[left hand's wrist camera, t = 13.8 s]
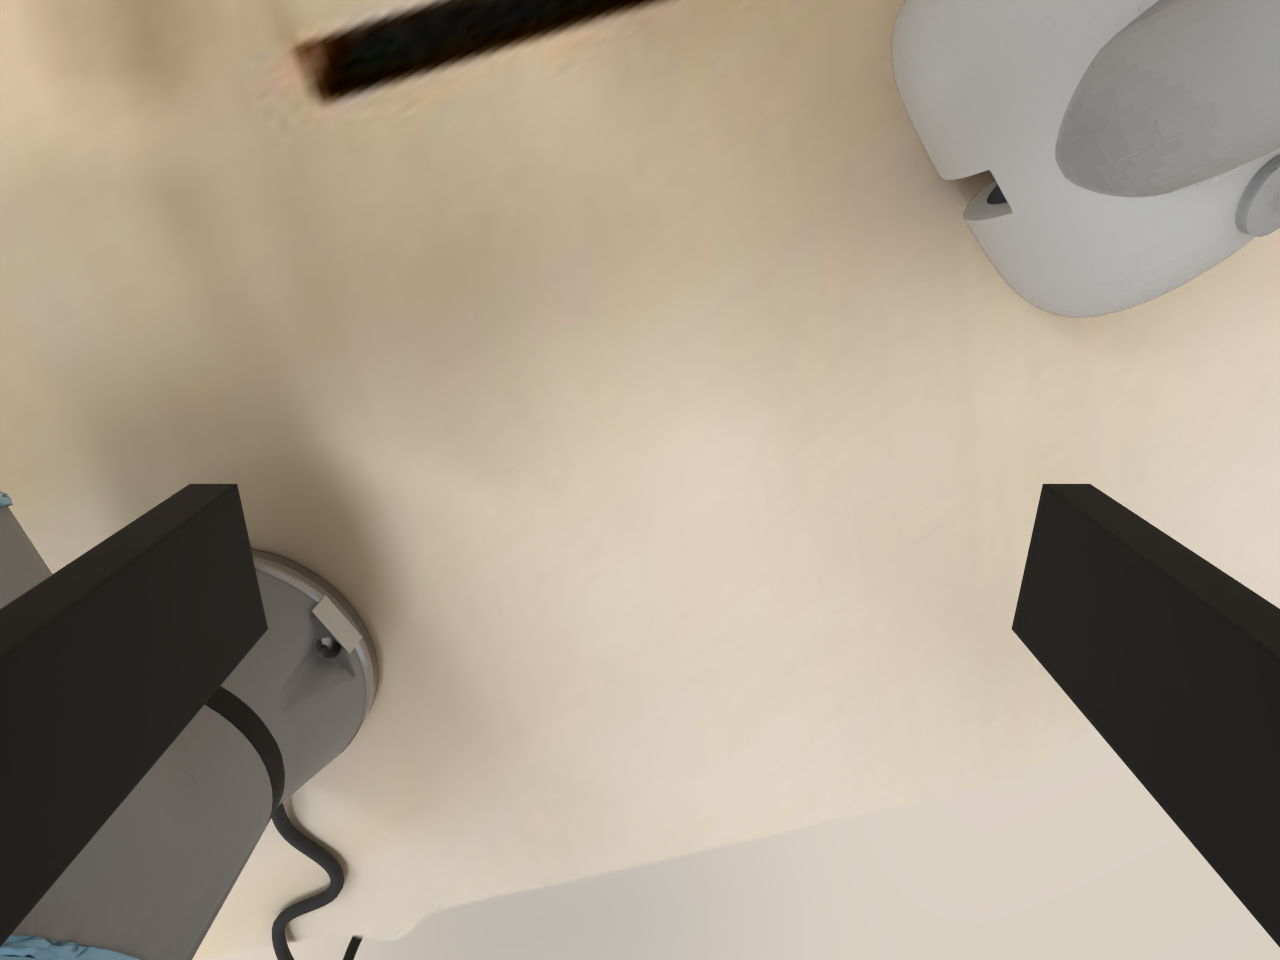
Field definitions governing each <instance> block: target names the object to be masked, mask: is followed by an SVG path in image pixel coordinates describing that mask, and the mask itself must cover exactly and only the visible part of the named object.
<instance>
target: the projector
mask: <svg viewBox="0 0 1280 960" xmlns="http://www.w3.org/2000/svg"><path fill="white" fill-rule="evenodd" d="M892 65H893V72H894V77H895V81H896V84H897V87H898V91H899V93H900V96H901V99H902V101H903V104H904V107H905V109H906V112H907V114H908V116H909V118H910V120H911V122H912V124H913V127H914V129H915V131H916V133H917V135H918V137H919V139H920V141H921V143H922V145H923V147H924V148H925V150H926V152H927V154H928V156H929V158H930V160H931V161H932V163H933V165H934V167H935V169H936V170H937V172H938V174H939V176H940V177H941V178H942V179H945V180H956V179H961V178H966V177H969V176H972V175H976V174H979V173H981V172H984V171H987V170H990V171H991V173H992V175H993V176H994V178H995V180H994V181H993V182H991V183H990V184H989V185H988V186H986V187H985V188H984V189H983V190H982V191H980V192H979V193H978V194H977V195H976V196H975V197H974V198H973V199H972V201H971V202H970V203H969V204H968V206H967V207H966V209H965V211H964V213H963V218H964V219H965V221H966V223H967V224H968V226H969V228H970V230H971V231H972V233H973V235H974V236H975V238H976V240H977V241H978V243H979V245H980V246H981V248H982V249H983V251H984V253H985V254H986V256H987V257H988V259H989V260H990V262H991V263H992V264H993V266H994V267H995V269H996V270H997V271H998V273H999V274H1000V275H1001V276H1002V278H1003V279H1004V280H1005V281H1006V282H1007V284H1008V285H1009V286H1010V287H1011V288H1012V289H1013V290H1014V291H1015V292H1016V293H1017V294H1018V295H1020V296H1021V297H1022V298H1023V299H1025V300H1026V301H1028V302H1029V303H1030V304H1032V305H1034V306H1036V307H1037V308H1039V309H1041V310H1043V311H1046V312H1049V313H1052V314H1055V315H1058V316H1064V317H1070V318H1084V317H1094V316H1101V315H1106V314H1110V313H1114V312H1118V311H1121V310H1125V309H1128V308H1131V307H1134V306H1136V305H1139V304H1142V303H1144V302H1147V301H1149V300H1152V299H1155V298H1157V297H1159V296H1161V295H1163V294H1165V293H1167V292H1169V291H1171V290H1173V289H1175V288H1177V287H1179V286H1181V285H1183V284H1185V283H1187V282H1189V281H1190V280H1192V279H1194V278H1196V277H1197V276H1199V275H1201V274H1202V273H1204V272H1206V271H1207V270H1209V269H1211V268H1212V267H1214V266H1216V265H1217V264H1219V263H1220V262H1222V261H1223V260H1225V259H1226V258H1227V257H1229V256H1230V255H1232V254H1233V253H1235V252H1236V251H1237V250H1239V249H1240V248H1242V247H1243V246H1244V245H1245V244H1247V243H1248V242H1249V241H1251V240H1252V239H1253V238H1254V237H1256V236H1260V237H1261V236H1264V235H1268V234H1270V233H1272V232H1274V231H1275V230H1277V229H1278V228H1280V0H905V2H904V3H903V5H902V7H901V9H900V11H899V14H898V16H897V19H896V22H895V26H894V29H893V36H892Z"/></svg>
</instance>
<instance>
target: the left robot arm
mask: <svg viewBox="0 0 1280 960" xmlns="http://www.w3.org/2000/svg"><path fill="white" fill-rule="evenodd" d="M11 505H13V503H12V501H11V498H10V497H9V496H8V494H6V493H3V492H0V960H192V959H193V957H194V955H195V953H196V951H197V950H198V948H199V946H200V944H201V943H202V941H203V939H204V937H205V935H206V934H207V932H208V930H209V928H210V926H211V925H212V923H213V921H214V919H215V918H216V916H217V914H218V912H219V910H220V909H221V907H222V905H223V903H224V902H225V900H226V898H227V896H228V894H229V893H230V891H231V889H232V887H233V885H234V884H235V882H236V880H237V878H238V877H239V875H240V873H241V871H242V869H243V868H244V866H245V864H246V862H247V861H248V859H249V857H250V855H251V853H252V852H253V850H254V848H255V846H256V845H257V843H258V841H259V839H260V837H261V836H262V834H263V832H264V830H265V828H266V826H267V824H268V823H269V821H270V819H271V818H272V820H273V822H274V825H275V827H276V828H277V830H278V831H279V833H280V834H281V835H282V836H283V838H284V839H285V840H286V841H287V842H288V843H290V844H291V845H292V846H293V847H295V848H296V849H297V850H299V851H300V852H302V853H303V854H305V855H306V856H308V857H309V858H311V859H312V860H314V861H315V862H316V863H318V864H319V865H320V866H321V867H323V868H324V869H325V870H326V872H327V873H328V874H329V877H330V879H331V883H330V887H329V888H328V889H327V890H325V891H324V892H322V893H320V894H318V895H316V896H314V897H311V898H309V899H306V900H304V901H301V902H298V903H296V904H294V905H292V906H290V907H288V908H286V909H285V910H284V911H282V912H281V913H280V914H279V916H278V917H277V918H276V920H275V921H274V923H273V927H272V941H273V947H274V950H275V954H276V956H277V959H278V960H294V958H293V957H292V955H291V953H290V950H289V948H288V945H287V942H286V938H285V927H286V924H287V923H288V922H289V921H291V920H292V919H294V918H296V917H298V916H300V915H303V914H305V913H308V912H310V911H313V910H315V909H318V908H320V907H323V906H325V905H327V904H328V903H330V902H332V901H333V900H334V899H335V898H336V897H337V896H338V894H339V893H340V891H341V890H342V888H343V883H344V877H343V871H342V868H341V866H340V864H339V863H338V862H337V860H336V859H335V858H334V857H333V856H332V855H331V854H329V853H328V852H327V851H326V850H324V849H323V848H321V847H320V846H319V845H317V844H316V843H314V842H313V841H311V840H310V839H308V838H307V837H305V836H304V835H303V834H302V833H300V832H299V831H298V830H297V829H296V828H295V827H294V826H293V824H292V823H291V822H290V820H289V818H288V817H287V815H286V812H285V809H284V806H283V803H282V802H283V801H284V800H286V799H287V798H288V797H289V796H290V795H291V794H293V793H294V792H295V791H296V790H297V789H299V788H300V787H301V786H302V785H303V784H305V783H306V782H307V781H308V780H309V779H310V778H312V777H313V776H314V775H315V774H316V773H318V772H319V771H320V770H321V769H322V768H324V767H325V766H326V765H327V764H328V763H329V762H331V761H332V760H333V759H334V758H336V757H337V756H338V755H339V754H340V753H341V752H343V751H344V749H345V748H346V747H347V746H348V745H349V744H350V743H351V741H352V740H353V739H354V737H355V736H356V734H357V732H358V730H359V729H360V727H361V725H362V723H363V721H364V719H365V717H366V715H367V713H368V711H369V709H370V707H371V705H372V702H373V700H374V696H375V692H376V687H377V672H378V670H377V660H376V655H375V651H374V647H373V644H372V642H371V639H370V636H369V634H368V632H367V630H366V628H365V626H364V624H363V623H362V621H361V619H360V618H359V616H358V615H357V613H356V612H355V611H354V609H353V608H352V607H351V606H350V604H349V603H348V602H347V601H346V600H345V599H344V598H343V597H342V596H341V595H340V594H339V593H338V592H337V591H336V590H335V589H334V588H333V587H331V586H330V585H329V584H328V583H326V582H325V581H324V580H322V579H321V578H320V577H318V576H317V575H315V574H314V573H312V572H310V571H309V570H307V569H305V568H303V567H302V566H300V565H297V564H295V563H293V562H291V561H289V560H286V559H284V558H281V557H279V556H276V555H272V554H269V553H266V552H262V551H257V550H252V549H251V547H250V542H249V537H248V533H247V528H246V523H245V519H244V514H243V510H242V505H241V500H240V496H239V491H238V486H237V484H189V485H188V486H186V487H185V488H183V489H182V490H180V491H179V492H177V493H176V494H174V495H173V496H171V497H170V498H168V499H167V500H165V501H163V502H162V503H160V504H159V505H157V506H156V507H154V508H153V509H151V510H150V511H148V512H147V513H145V514H144V515H142V516H141V517H139V518H138V519H136V520H135V521H133V522H132V523H130V524H129V525H127V526H126V527H124V528H123V529H121V530H119V531H118V532H116V533H115V534H113V535H112V536H110V537H109V538H107V539H106V540H104V541H103V542H101V543H100V544H98V545H97V546H95V547H94V548H92V549H91V550H89V551H88V552H86V553H85V554H83V555H82V556H80V557H79V558H77V559H75V560H74V561H72V562H71V563H69V564H68V565H66V566H65V567H63V568H62V569H60V570H59V571H57V572H56V573H54V574H53V575H52V573H51V572H50V570H49V569H48V567H47V565H46V564H45V562H44V561H43V559H42V558H41V556H40V555H39V553H38V552H37V550H36V549H35V547H34V546H33V544H32V543H31V541H30V540H29V538H28V536H27V535H26V533H25V532H24V530H23V529H22V527H21V526H20V524H19V523H18V521H17V520H16V518H15V517H14V515H13V514H12V512H11V511H10V509H9V507H8V506H11ZM1012 630H1013V631H1014V632H1015V633H1016V635H1017V636H1018V637H1019V638H1020V639H1021V641H1022V642H1023V643H1024V644H1025V645H1026V646H1027V648H1028V649H1029V650H1030V651H1031V652H1032V654H1033V655H1034V656H1035V657H1036V658H1037V660H1038V661H1039V662H1040V663H1041V664H1042V665H1043V667H1044V668H1045V669H1046V670H1047V671H1048V673H1049V674H1050V675H1051V676H1052V677H1053V679H1054V680H1055V681H1056V682H1057V683H1058V684H1059V686H1060V687H1061V688H1062V689H1063V690H1064V692H1065V693H1066V694H1067V695H1068V696H1069V698H1070V699H1071V700H1072V701H1073V702H1074V703H1075V705H1076V706H1077V707H1078V708H1079V709H1080V711H1081V712H1082V713H1083V714H1084V715H1085V717H1086V718H1087V719H1088V720H1089V721H1090V722H1091V724H1092V725H1093V726H1094V727H1095V728H1096V730H1097V731H1098V732H1099V733H1100V734H1101V735H1102V737H1103V738H1104V739H1105V740H1106V741H1107V743H1108V744H1109V745H1110V746H1111V747H1112V749H1113V750H1114V751H1115V752H1116V753H1117V755H1118V756H1119V757H1120V758H1121V759H1122V761H1123V762H1124V763H1125V764H1126V765H1127V766H1128V768H1129V769H1130V770H1131V771H1132V772H1133V774H1134V775H1135V776H1136V777H1137V778H1138V779H1139V781H1140V782H1141V783H1142V784H1143V785H1144V787H1145V788H1146V789H1147V790H1148V791H1149V792H1150V794H1151V795H1152V796H1153V797H1154V799H1155V800H1156V801H1157V802H1158V803H1159V804H1160V806H1161V807H1162V808H1163V809H1164V810H1165V812H1166V813H1167V814H1168V815H1169V816H1170V818H1171V819H1172V820H1173V821H1174V822H1175V823H1176V825H1177V826H1178V827H1179V828H1180V829H1181V831H1182V832H1183V833H1184V834H1185V835H1186V837H1187V838H1188V839H1189V840H1190V841H1191V842H1192V844H1193V845H1194V846H1195V847H1196V848H1197V850H1198V851H1199V852H1200V853H1201V854H1202V856H1203V857H1204V858H1205V859H1206V860H1207V861H1208V863H1209V864H1210V865H1211V866H1212V867H1213V869H1214V870H1215V871H1216V872H1217V873H1218V875H1219V876H1220V877H1221V878H1222V879H1223V880H1224V882H1225V883H1226V884H1227V885H1228V886H1229V888H1230V889H1231V890H1232V891H1233V892H1234V894H1235V895H1236V896H1237V897H1238V898H1239V899H1240V901H1241V902H1242V903H1243V904H1244V905H1245V907H1246V908H1247V909H1248V910H1249V911H1250V913H1251V914H1252V915H1253V916H1254V917H1255V918H1256V920H1257V921H1258V922H1259V923H1260V924H1261V926H1262V927H1263V928H1264V929H1265V930H1266V932H1267V933H1268V934H1269V935H1270V936H1271V937H1272V939H1273V940H1274V941H1275V942H1276V943H1277V945H1278V946H1279V947H1280V609H1279V608H1277V607H1276V606H1274V605H1273V604H1271V603H1270V602H1268V601H1267V600H1265V599H1264V598H1262V597H1261V596H1259V595H1258V594H1256V593H1255V592H1253V591H1252V590H1250V589H1248V588H1247V587H1245V586H1244V585H1242V584H1241V583H1239V582H1238V581H1236V580H1235V579H1233V578H1232V577H1230V576H1229V575H1227V574H1226V573H1224V572H1223V571H1221V570H1220V569H1218V568H1217V567H1215V566H1214V565H1212V564H1211V563H1209V562H1208V561H1206V560H1205V559H1203V558H1201V557H1200V556H1198V555H1197V554H1195V553H1194V552H1192V551H1191V550H1189V549H1188V548H1186V547H1185V546H1183V545H1182V544H1180V543H1179V542H1177V541H1176V540H1174V539H1173V538H1171V537H1170V536H1168V535H1167V534H1165V533H1164V532H1162V531H1161V530H1159V529H1157V528H1156V527H1154V526H1153V525H1151V524H1150V523H1148V522H1147V521H1145V520H1144V519H1142V518H1141V517H1139V516H1138V515H1136V514H1135V513H1133V512H1132V511H1130V510H1129V509H1127V508H1126V507H1124V506H1123V505H1121V504H1120V503H1118V502H1117V501H1115V500H1113V499H1112V498H1110V497H1109V496H1107V495H1106V494H1104V493H1103V492H1101V491H1100V490H1098V489H1097V488H1095V487H1094V486H1092V485H1091V484H1043V486H1042V491H1041V496H1040V500H1039V505H1038V510H1037V514H1036V519H1035V523H1034V528H1033V533H1032V537H1031V542H1030V547H1029V551H1028V556H1027V561H1026V565H1025V570H1024V575H1023V579H1022V584H1021V589H1020V593H1019V598H1018V602H1017V607H1016V612H1015V616H1014V621H1013V626H1012ZM362 939H363V937H360V936H352V938H351V941H350V943H349V945H348V947H347V950H346V952H345V955H344V958H343V960H354V957H355V955H356V952H357V950H358V947H359V945H360V943H361V941H362Z"/></svg>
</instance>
